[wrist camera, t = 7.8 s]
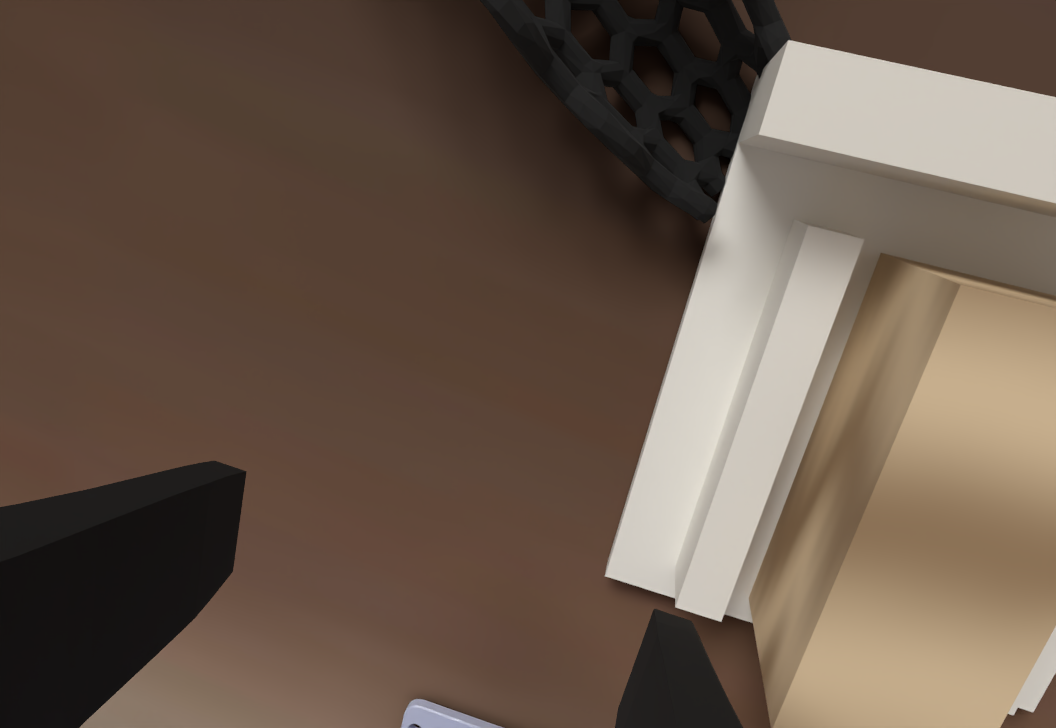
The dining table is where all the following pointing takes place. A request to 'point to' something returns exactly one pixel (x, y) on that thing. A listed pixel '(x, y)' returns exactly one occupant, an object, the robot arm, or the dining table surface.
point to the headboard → (821, 293)
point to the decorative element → (644, 145)
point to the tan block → (919, 514)
